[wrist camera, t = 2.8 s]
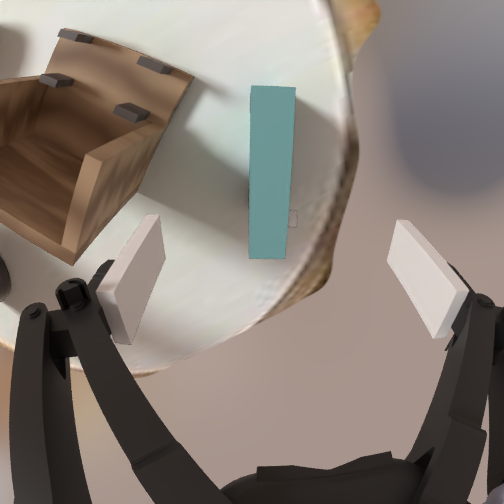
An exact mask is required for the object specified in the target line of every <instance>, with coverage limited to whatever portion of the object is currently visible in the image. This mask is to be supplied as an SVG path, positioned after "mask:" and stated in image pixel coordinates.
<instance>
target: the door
mask: <svg viewBox="0 0 504 504" xmlns="http://www.w3.org/2000/svg"><path fill="white" fill-rule="evenodd" d="M295 90H296V87H279V86H251V93H250V170H249V258H250V259H285V252H286V240H287V227H296V225H297V211H296V210H289V200H290V185H291V170H292V153H293V135H294V114H295Z"/></svg>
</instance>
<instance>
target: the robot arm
mask: <svg viewBox="0 0 504 504" xmlns="http://www.w3.org/2000/svg"><path fill="white" fill-rule="evenodd" d="M165 259H166V258H165V251H164V244H163V237H162V230H161V222H160V215H146V216H145V217H144V219H143V220H142V222H141V223H140V224H139V226H138V227H137V229H136V230H135V232H134V233H133V234H132V236H131V237H130V239H129V240H128V242H127V243H126V245H125V246H124V248H123V249H122V251H121V252H120V254H119V255H118V257H117V258H116V260H107V261H106V262H105V263H103V264H102V265H101V266H100V267H99V269H98V270H97V272H96V274H95V275H94V276H93V277H92V279H91V281H90V282H89V284H88V285H86V282H85V281H84V280H83V279H80V278H73V279H69V280H66V281H65V282H63V283H61V284H60V285H59V286H58V287H57V289H56V293H55V295H56V297H57V300H58V302H59V304H60V307H61V310H55V311H48V309H47V307H46V305H45V304H44V303H40V302H39V303H33V304H31V305H29V306H27V307H26V308H25V309H24V310H23V311H22V314H21V316H20V321H19V327H18V332H17V338H16V345H15V352H14V359H13V368H12V379H11V391H10V413H9V415H10V416H9V438H10V458H11V459H10V460H11V472H12V481H13V489H14V496H15V498H14V504H92V502H91V498H90V494H89V490H88V486H87V482H86V478H85V474H84V469H83V465H82V460H81V456H80V450H79V445H78V438H77V432H76V425H75V418H74V410H73V401H72V391H71V378H70V360H69V357H76V356H78V357H79V360H80V363H81V365H82V368H83V370H84V372H85V375H86V377H87V379H88V382H89V384H90V386H91V389H92V391H93V393H94V395H95V397H96V399H97V402H98V404H99V406H100V408H101V410H102V412H103V414H104V416H105V418H106V420H107V422H108V423H109V426H110V427H111V429H112V431H113V433H114V435H115V437H116V438H117V440H118V442H119V444H120V446H121V447H122V449H123V451H124V453H125V454H126V456H127V457H128V459H129V461H130V463H131V466H132V469H133V471H134V473H135V475H136V477H137V478H138V480H139V481H140V483H141V484H142V486H143V487H144V489H145V490H146V492H147V493H148V494H149V496H150V497H151V499H152V500H153V501H154V503H155V504H471V503H469V502H468V501H467V499H468V496H469V494H470V491H471V488H472V486H473V483H474V480H475V477H476V474H477V471H478V467H479V464H480V461H481V457H482V453H483V450H484V446H485V442H486V437H487V433H486V431H485V430H482V429H481V425H482V421H483V416H484V411H485V406H486V400H487V396H488V400H489V457H488V470H487V494H488V497H487V500H486V502H484V503H483V504H504V307H503V308H502V307H497V306H495V304H494V302H493V301H492V300H491V299H490V298H489V297H488V296H485V295H484V294H479V293H477V294H476V293H475V292H474V291H473V289H472V288H471V287H470V286H469V284H468V283H467V282H466V281H465V280H464V279H463V277H462V276H461V275H459V272H458V271H457V270H456V269H455V268H454V267H453V266H452V265H450V264H449V263H448V262H446V261H445V260H444V259H443V258H442V257H441V256H440V254H439V253H438V252H437V251H436V250H435V249H434V248H433V246H432V245H431V244H430V243H429V242H428V241H427V240H426V239H425V238H424V237H423V235H422V234H421V233H420V232H419V231H418V230H417V229H416V228H415V227H414V226H413V225H412V224H411V223H410V222H409V221H408V220H397V222H396V226H395V231H394V235H393V239H392V243H391V247H390V251H389V254H388V258H387V262H388V263H389V265H390V267H391V268H392V270H393V271H394V273H395V274H396V276H397V278H398V279H399V281H400V282H401V284H402V286H403V287H404V289H405V290H406V292H407V294H408V295H409V297H410V299H411V301H412V302H413V304H414V306H415V307H416V309H417V311H418V312H419V314H420V316H421V318H422V319H423V321H424V323H425V325H426V326H427V328H428V330H429V332H430V334H431V336H432V337H433V339H438V338H445V337H446V336H447V334H448V332H449V330H450V329H451V328H452V329H453V331H454V335H453V337H452V338H451V340H450V342H449V344H448V345H447V347H446V349H445V351H447V350H448V353H447V356H446V360H445V363H444V366H443V370H442V373H441V376H440V379H439V382H438V385H437V388H436V391H435V394H434V397H433V400H432V402H431V405H430V407H429V410H428V413H427V415H426V418H425V420H424V423H423V425H422V427H421V430H420V432H419V434H418V437H417V439H416V441H415V443H414V445H413V448H412V450H411V452H410V453H409V455H408V456H407V457H406V459H405V460H402V459H395V458H392V454H391V451H389V452H384V453H380V454H375V455H370V456H364V457H360V458H358V459H356V460H353V461H351V462H348V463H346V464H344V465H341V466H339V467H336V468H333V469H330V470H324V469H315V468H307V467H300V466H294V465H289V466H266V467H265V466H259V467H257V472H256V473H255V474H251V475H247V476H244V477H241V478H239V479H237V480H234V481H232V482H231V483H229V484H227V485H226V486H224V487H223V488H222V489H220V490H219V489H218V487H217V486H216V485H215V484H214V483H213V482H212V481H211V480H210V479H209V477H208V476H207V475H206V474H205V473H204V472H203V470H202V469H201V468H200V467H199V466H198V465H197V463H196V462H195V461H194V460H193V459H192V457H191V456H190V455H189V454H188V452H187V451H186V450H185V449H184V447H183V446H182V445H181V444H180V443H179V442H177V441H176V440H175V439H174V437H173V436H172V434H171V433H170V432H169V430H168V429H167V428H166V426H165V425H164V423H163V422H162V421H161V419H160V418H159V417H158V415H157V414H156V412H155V410H154V409H153V408H152V406H151V405H150V403H149V402H148V400H147V399H146V397H145V395H144V394H143V392H142V391H141V389H140V388H139V386H138V385H137V383H136V381H135V380H134V378H133V376H132V375H131V373H130V371H129V370H128V368H127V366H126V364H125V363H124V361H123V359H122V358H121V356H120V354H119V352H118V350H117V349H116V347H115V345H114V343H113V341H112V339H111V338H110V335H111V334H112V337H113V339H114V342H115V343H119V344H128V345H131V344H132V342H133V339H134V336H135V334H136V331H137V328H138V326H139V323H140V320H141V318H142V315H143V313H144V310H145V307H146V305H147V302H148V300H149V297H150V295H151V292H152V290H153V288H154V285H155V283H156V280H157V278H158V275H159V273H160V271H161V268H162V266H163V264H164V261H165ZM10 287H11V283H10V277H9V274H8V271H7V268H6V266H5V264H4V262H3V260H2V259H1V257H0V302H1V301H2V300H3V299H4V298H5V297H6V296H7V295H8V293H9V291H10ZM448 348H449V349H448Z"/></svg>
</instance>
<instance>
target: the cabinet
mask: <svg viewBox="0 0 504 504" xmlns="http://www.w3.org/2000/svg"><path fill="white" fill-rule="evenodd" d="M58 37H60V38H59V41H58V43H57V45H56V47H55V50H54V52H53V54H52V57H51V59H50V61H49V64H48V66H47V69H46V71H45V74H41V75H40V76H30V77H21V78H13V79H6V80H0V222H1V223H2V224H4V225H5V226H7V227H8V228H10V229H11V230H13V231H14V232H16V233H17V234H19V235H21V236H22V237H24V238H25V239H27V240H29V241H30V242H32V243H33V244H35V245H37V246H38V247H40V248H42V249H43V250H45V251H47V252H48V253H50V254H52V255H53V256H55V257H57V258H59V259H60V260H62V261H64V262H66V263H67V264H69V265H71V266H73V265H74V264H75V263H76V261H77V260H78V259H79V258H80V256H81V255H82V254H83V253H84V251H85V250H86V249H87V248H88V246H89V245H90V244H91V243H92V242H93V240H94V239H95V238H96V237H97V236H98V235H99V233H100V232H101V231H102V230H103V229H104V228H105V226H106V225H107V224H108V223H109V222H110V221H111V220H112V218H113V217H114V216H115V215H116V214H117V213H118V212H119V211H120V209H121V208H122V207H123V206H124V205H125V204H126V203H127V202H128V201H129V200H130V199H131V198H132V196H133V195H134V194H135V193H136V192H137V190H138V187H139V185H140V183H141V181H142V178H143V176H144V174H145V171H146V169H147V167H148V165H149V163H150V160H151V158H152V156H153V154H154V152H155V150H156V148H157V146H158V144H159V141H160V139H161V137H162V135H163V133H164V131H165V129H166V127H167V125H168V124H169V122H170V120H171V118H172V116H173V114H174V112H175V110H176V108H177V106H178V105H179V103H180V101H181V99H182V97H183V96H184V94H185V92H186V90H187V88H188V87H189V85H190V83H191V81H192V80H193V78H194V76H192V75H190V74H188V73H186V72H183V71H181V70H179V69H177V68H175V67H172V66H170V65H168V64H166V63H163V62H161V61H159V60H156V59H154V58H151V57H149V56H147V55H144V54H142V53H139V52H137V51H134V50H131V49H129V48H126V47H123V46H121V45H118V44H115V43H112V42H109V41H107V40H104V39H101V38H98V37H95V36H91V35H88V34H85V33H82V32H79V31H75V30H72V29H67V28H64V29H61V30H60V32H59V34H58Z"/></svg>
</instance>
